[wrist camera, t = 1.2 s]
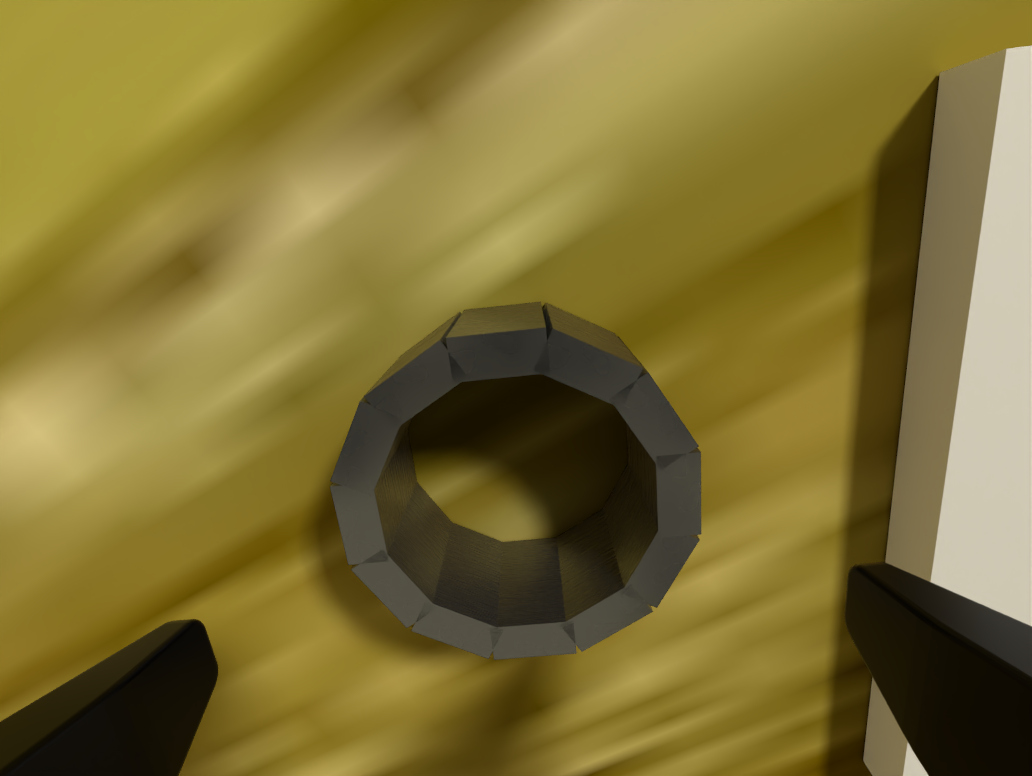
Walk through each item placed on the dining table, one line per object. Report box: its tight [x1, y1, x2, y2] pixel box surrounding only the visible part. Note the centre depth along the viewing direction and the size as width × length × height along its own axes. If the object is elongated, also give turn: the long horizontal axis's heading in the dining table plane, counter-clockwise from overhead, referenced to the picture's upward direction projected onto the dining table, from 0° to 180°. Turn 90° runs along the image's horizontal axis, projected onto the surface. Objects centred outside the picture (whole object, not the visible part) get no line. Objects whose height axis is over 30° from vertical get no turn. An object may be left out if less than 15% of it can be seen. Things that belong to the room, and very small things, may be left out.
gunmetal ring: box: [330, 302, 701, 660], centre depth 11 cm, size 7×7×3 cm
